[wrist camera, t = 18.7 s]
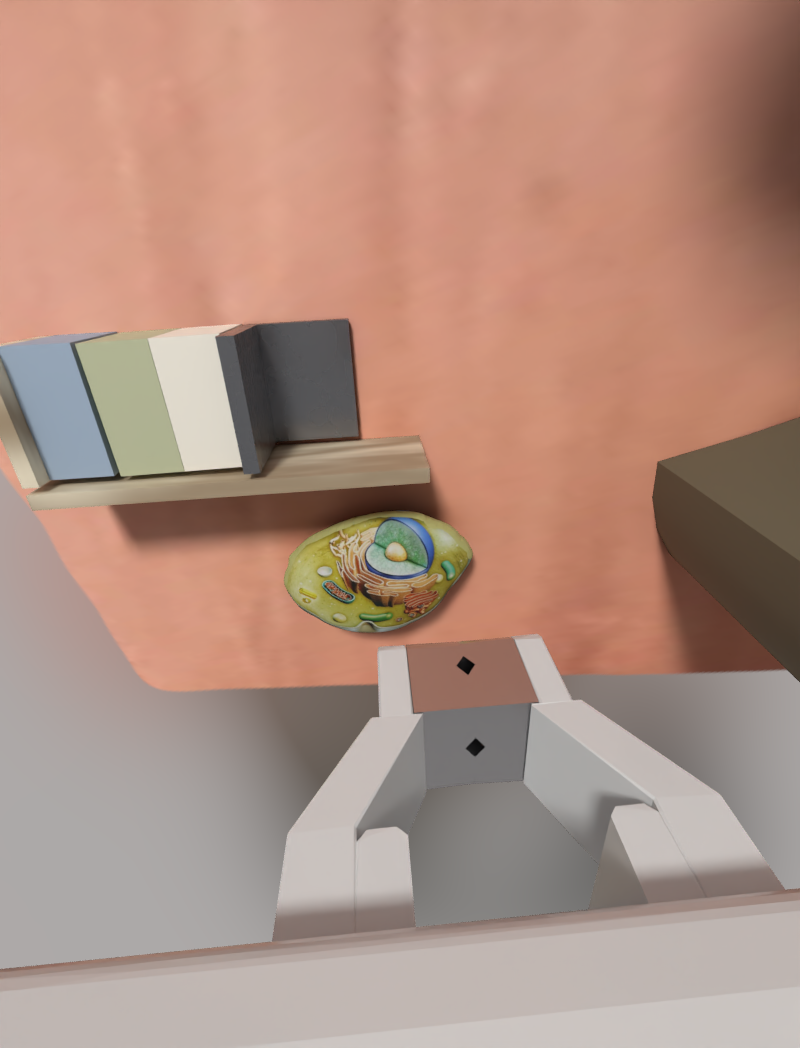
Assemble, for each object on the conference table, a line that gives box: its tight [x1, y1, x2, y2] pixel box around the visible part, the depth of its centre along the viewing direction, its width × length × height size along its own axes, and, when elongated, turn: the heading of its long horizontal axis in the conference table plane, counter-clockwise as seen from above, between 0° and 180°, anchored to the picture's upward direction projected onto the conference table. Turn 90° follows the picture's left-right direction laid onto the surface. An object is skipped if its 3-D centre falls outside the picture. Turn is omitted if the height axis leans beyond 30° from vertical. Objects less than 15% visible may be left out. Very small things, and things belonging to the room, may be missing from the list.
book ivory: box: [148, 324, 242, 471], centre depth 32 cm, size 8×4×6 cm, turn 4°
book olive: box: [75, 328, 185, 477], centre depth 32 cm, size 8×4×6 cm, turn 4°
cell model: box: [284, 510, 473, 633], centre depth 40 cm, size 10×8×14 cm
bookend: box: [215, 319, 359, 474], centre depth 32 cm, size 8×7×7 cm
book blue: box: [0, 332, 119, 480], centre depth 32 cm, size 8×4×6 cm, turn 3°
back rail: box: [0, 336, 430, 511], centre depth 32 cm, size 10×25×7 cm, turn 93°
